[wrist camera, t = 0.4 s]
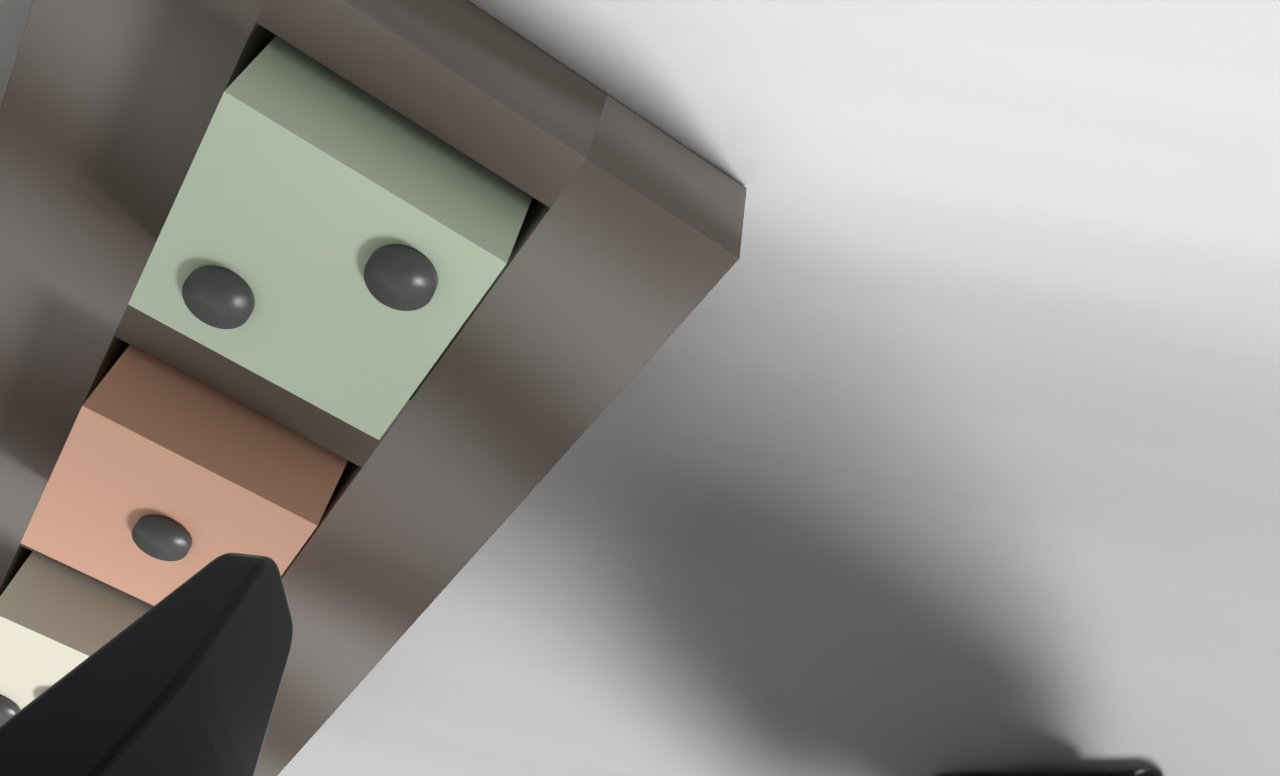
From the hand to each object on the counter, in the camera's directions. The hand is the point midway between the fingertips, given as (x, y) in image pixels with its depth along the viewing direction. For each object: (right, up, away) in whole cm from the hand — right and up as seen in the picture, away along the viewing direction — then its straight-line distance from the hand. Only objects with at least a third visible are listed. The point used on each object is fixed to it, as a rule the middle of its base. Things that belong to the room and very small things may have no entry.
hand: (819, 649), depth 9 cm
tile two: (-7, +6, +14) cm, 16 cm away
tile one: (-11, +2, +18) cm, 21 cm away
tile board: (-11, +2, +18) cm, 21 cm away
